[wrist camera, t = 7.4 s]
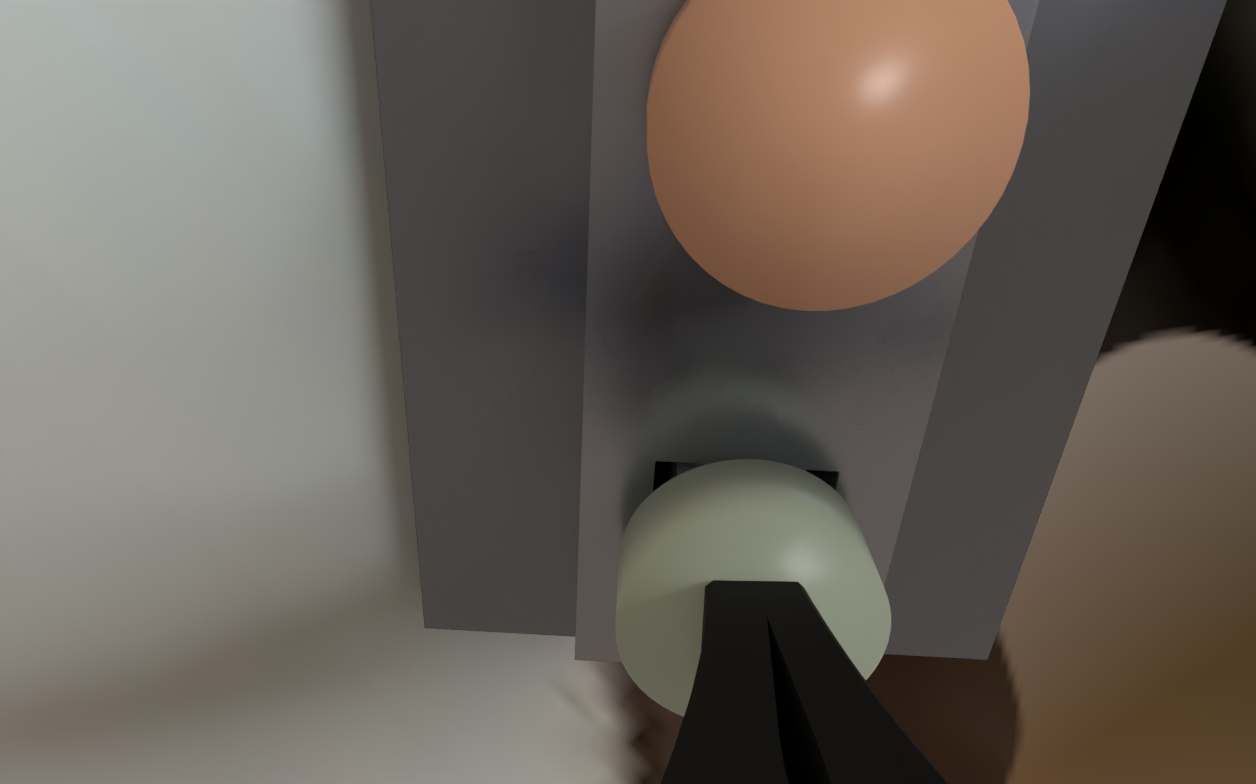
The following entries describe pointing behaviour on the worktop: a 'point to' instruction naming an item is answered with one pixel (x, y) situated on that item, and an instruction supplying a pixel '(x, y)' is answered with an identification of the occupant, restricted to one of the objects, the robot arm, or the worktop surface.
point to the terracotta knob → (834, 139)
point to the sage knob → (739, 565)
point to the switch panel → (529, 290)
